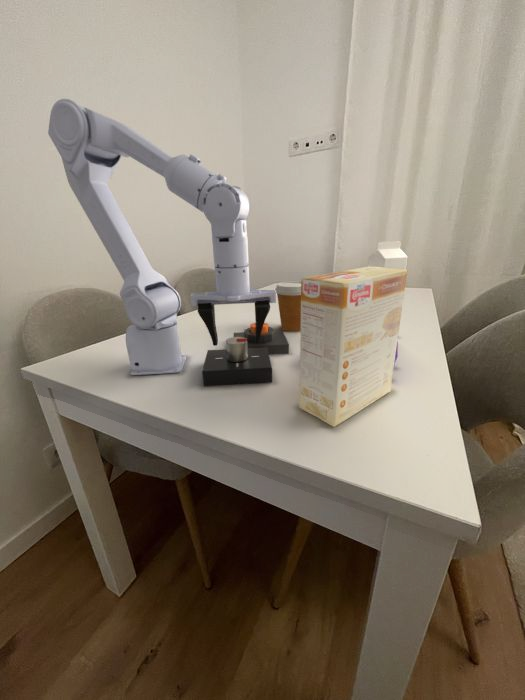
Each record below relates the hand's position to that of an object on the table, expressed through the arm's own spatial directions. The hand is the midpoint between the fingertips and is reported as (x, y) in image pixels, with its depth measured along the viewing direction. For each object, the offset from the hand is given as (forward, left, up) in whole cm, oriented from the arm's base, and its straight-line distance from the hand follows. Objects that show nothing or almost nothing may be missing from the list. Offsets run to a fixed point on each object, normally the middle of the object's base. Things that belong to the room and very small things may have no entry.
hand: (236, 342), depth 55 cm
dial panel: (0, 0, -6) cm, 6 cm away
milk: (+35, +17, -6) cm, 39 cm away
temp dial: (0, 0, -3) cm, 3 cm away
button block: (+5, +13, -6) cm, 15 cm away
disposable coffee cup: (+15, +26, -6) cm, 31 cm away
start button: (+5, +13, -3) cm, 14 cm away
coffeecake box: (+17, -12, -6) cm, 22 cm away
